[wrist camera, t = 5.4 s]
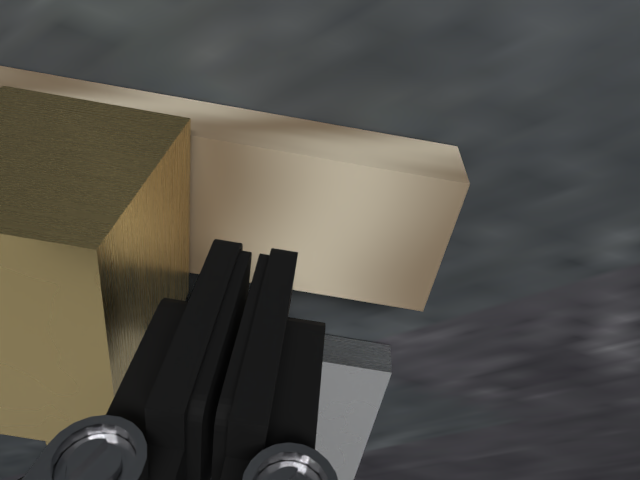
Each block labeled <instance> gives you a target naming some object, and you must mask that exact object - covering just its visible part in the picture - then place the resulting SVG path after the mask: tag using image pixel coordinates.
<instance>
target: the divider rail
mask: <svg viewBox="0 0 640 480" xmlns="http://www.w3.org/2000/svg"><path fill="white" fill-rule="evenodd" d="M2 86H10V87H15V88H21V89H27V90H32V91H38V92H44V93H49V94H55V95H61V96H67V97H72V98H78V99H84V100H89V101H95V102H101V103H107V104H112V105H118V106H124V107H129V108H135V109H141V110H147V111H152V112H158V113H164V114H169V115H175V116H181V117H186V118H191V134H190V222H189V273H195V274H200V272H201V269H202V267H203V265H204V262H205V260H206V257H207V255H208V252H209V250H210V248H211V245H212V243H213V241H214V239H219V240H226V241H232V242H238V243H242V244H243V251H248V252H252V259H251V269H250V280H249V283H251V282H252V279H253V275H254V272H255V268H256V264H257V261H258V257H259V254H260V253H261V254H267V255H270V251H271V248H275V249H281V250H287V251H293V252H298V257H297V263H296V269H295V276H294V282H293V289H292V290H297V291H303V292H309V293H315V294H321V295H327V296H333V297H339V298H345V299H352V300H358V301H364V302H370V303H376V304H382V305H388V306H394V307H400V308H406V309H412V310H418V311H423V310H424V307H425V304H426V302H427V299H428V296H429V293H430V291H431V288H432V285H433V283H434V280H435V277H436V274H437V272H438V269H439V266H440V264H441V261H442V258H443V256H444V253H445V250H446V247H447V245H448V242H449V239H450V237H451V234H452V231H453V228H454V226H455V223H456V220H457V218H458V215H459V212H460V210H461V207H462V204H463V201H464V199H465V196H466V193H467V191H468V188H469V185H470V183H469V180H468V177H467V174H466V171H465V168H464V165H463V162H462V159H461V156H460V153H459V150H458V147H457V146H452V145H446V144H441V143H435V142H429V141H424V140H418V139H412V138H407V137H401V136H395V135H390V134H384V133H378V132H373V131H367V130H361V129H356V128H350V127H344V126H339V125H333V124H327V123H322V122H316V121H310V120H305V119H299V118H293V117H288V116H282V115H276V114H271V113H265V112H259V111H254V110H248V109H242V108H237V107H231V106H225V105H219V104H214V103H208V102H202V101H197V100H191V99H185V98H180V97H174V96H168V95H163V94H157V93H151V92H146V91H140V90H134V89H129V88H123V87H117V86H112V85H106V84H100V83H95V82H89V81H83V80H78V79H72V78H66V77H61V76H55V75H49V74H44V73H38V72H32V71H27V70H21V69H15V68H10V67H4V66H0V87H2Z"/></svg>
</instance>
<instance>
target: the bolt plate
mask: <svg viewBox="0 0 640 480" xmlns="http://www.w3.org/2000/svg"><path fill="white" fill-rule="evenodd" d="M391 373H392V370H391V350H390V345H385V344H379V343H373V342H367V341H361V340H354V339H348V338H342V337H336V336H330V335H325V338H324V350H323V362H322V374H321V386H320V397H319V409H318V421H317V433H316V444H315V450H316V451H318V452H319V453H320V454H321V455H323V456H324V457H325V458H326V459H327V460H328V461H329V462H330V464H331V466H332V467H333V469H334V470H335V472H336V474H337V478H338V480H354V477H355V475H356V472H357V469H358V466H359V463H360V461H361V458H362V455H363V452H364V449H365V446H366V444H367V441H368V438H369V435H370V432H371V430H372V427H373V424H374V421H375V418H376V415H377V413H378V410H379V407H380V404H381V401H382V399H383V396H384V393H385V390H386V387H387V385H388V382H389V379H390V376H391Z"/></svg>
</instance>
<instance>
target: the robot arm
mask: <svg viewBox="0 0 640 480" xmlns="http://www.w3.org/2000/svg"><path fill="white" fill-rule="evenodd" d="M297 257H298V252H293V251H287V250H281V249H275V248H271V251H270V255H267V254H261V253H260V254H259V257H258V261H257V264H256V268H255V272H254V275H253V279H252V282H251V286H250V290H249V280H250V269H251V259H252V252H248V251H243V244H242V243H238V242H232V241H226V240H219V239H214V241H213V243H212V245H211V248H210V250H209V252H208V255H207V257H206V260H205V262H204V265H203V267H202V269H201V272H200V274H199V277H198V279H197V282H196V284H195V286H194V289H193V291H192V294H191V296H190V299H189V301H183V300H176V299H170V298H163V299H162V300H161V301H160V303H159V305H158V307H157V309H156V311H155V313H154V315H153V317H152V319H151V321H150V323H149V325H148V327H147V330H146V332H145V334H144V336H143V338H142V340H141V342H140V344H139V346H138V348H137V350H136V353H135V355H134V357H133V359H132V361H131V363H130V365H129V367H128V369H127V371H126V373H125V376H124V378H123V380H122V382H121V384H120V386H119V388H118V390H117V392H116V394H115V396H114V399H113V401H112V403H111V405H110V407H109V409H108V411H107V413H106V415H100V416H91V417H88V418H85V419H82V420H80V421H77V422H74V423H73V424H71V425H70V426H68V427H66V428H65V429H63V430H62V431H60V432H59V433H58V434H57V435H56V436H55V437H54V438H53V439H52V440H51V441H50V442H49V443H48V445H47V446H46V447H45V449H44V450H43V451H42V453H41V454H40V455H39V457H38V458H37V459H36V461H35V462H34V464H33V465H32V466H31V468H30V469H29V470H28V472H27V473H26V474H25V476H24V477H22V478H20V479H18V480H338V478H337V474H336V472H335V470H334V469H333V467H332V466H331V464H330V462H329V461H328V460H327V459H326V458H325V457H324V456H323V455H321V454H320V453H319V452H318V451H316V450H315V444H316V433H317V421H318V409H319V397H320V386H321V374H322V362H323V350H324V338H325V323H322V322H315V321H309V320H303V319H296V318H290V317H288V314H289V308H290V301H291V295H292V289H293V282H294V276H295V269H296V263H297ZM248 291H249V293H248Z"/></svg>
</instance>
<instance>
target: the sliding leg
mask: <svg viewBox="0 0 640 480" xmlns="http://www.w3.org/2000/svg"><path fill="white" fill-rule="evenodd" d="M190 134H191V118H186V117H181V116H175V115H169V114H164V113H158V112H152V111H147V110H141V109H135V108H129V107H124V106H118V105H112V104H107V103H101V102H95V101H89V100H84V99H78V98H72V97H67V96H61V95H55V94H49V93H44V92H38V91H32V90H27V89H21V88H15V87H10V86H2V87H0V434H4V435H10V436H17V437H23V438H30V439H36V440H43V441H46V445H48V443H49V442H50V441H51V440H52V439H53V438H54V437H55V436H56V435H57V434H58V433H59V432H60V431H62V430H63V429H65V428H66V427H68V426H70V425H71V424H73V423H74V422H77V421H80V420H82V419H85V418H88V417H91V416H100V415H106V413H107V411H108V409H109V407H110V405H111V403H112V401H113V399H114V396H115V394H116V392H117V390H118V388H119V386H120V384H121V382H122V380H123V378H124V376H125V373H126V371H127V369H128V367H129V365H130V363H131V361H132V359H133V357H134V355H135V353H136V350H137V348H138V346H139V344H140V342H141V340H142V338H143V336H144V334H145V332H146V330H147V327H148V325H149V323H150V321H151V319H152V317H153V315H154V313H155V311H156V309H157V307H158V305H159V303H160V301H161V300H162V299H163V298H170V299H176V300H183V301H185V299H186V297H187V294H188V292H189V222H190Z"/></svg>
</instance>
